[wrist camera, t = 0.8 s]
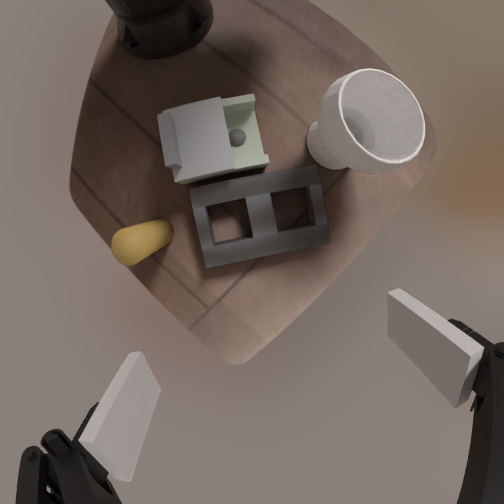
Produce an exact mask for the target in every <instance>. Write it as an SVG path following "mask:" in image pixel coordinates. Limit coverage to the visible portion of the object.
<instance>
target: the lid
mask: <svg viewBox="0 0 504 504" xmlns="http://www.w3.org/2000/svg"><path fill="white" fill-rule="evenodd" d="M157 118H158V125H159V131H160V138H161V144H162V150H163V156H164V161H165V166H166V167H168V168H170V169H172V171H173V176H174V181H175V182H180V181H184V180H188V179H192V178H196V177H200V176H205V175H209V174H213V173H218V172H222V171H227V170H232V169H235V164H234V160H233V155H232V150H231V145H230V140H229V135H228V130H227V125H226V121H225V116H224V111H223V106H222V101H221V96H220V97H216V98H211V99H206V100H202V101H198V102H194V103H190V104H186V105H182V106H178V107H174V108H171V109H167V110H164V111H163V113H161V114H158V115H157Z"/></svg>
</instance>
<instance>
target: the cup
mask: <svg viewBox="0 0 504 504" xmlns="http://www.w3.org/2000/svg"><path fill="white" fill-rule="evenodd" d="M424 137H425V122H424V117H423V112H422V110H421V108H420V105H419V103H418V101H417V99H416V98H415V96H414V95H413V93H412V92H411V91H410V90H409V89H408V87H407V86H406V85H405V84H404V83H403V82H401V81H400V80H399V79H397V78H396V77H394V76H393V75H391V74H389V73H386V72H384V71H381V70H376V69H370V68H369V69H361V70H357V71H354V72H352V73H350V74H347V75H345V76H343V77H341V78H339V79H337V80H336V81H335V82H334V83H333V84H332V85H331V86H330V88H329V89H328V90H327V91H326V92H325V93H324V95H323V97H322V99H321V101H320V103H319V107H318V116H317V121H315V122H314V123H313V124H312V125H311V127H310V128H309V131H308V133H307V147H308V150H309V152H310V154H311V156H312V157H313V158H314V160H315V161H316V162H318V163H319V164H320V165H322V166H324V167H325V168H328V169H333V170H339V169H343V168H346V167H349V168H351V169H353V170H355V171H359V172H362V173H366V174H376V173H385V172H389V171H392V170H395V169H398V168H399V167H401V166H402V165H404V164H405V163H407V162H408V161H410V160H411V159H412V158H413V157H415V156H416V155H417V154H418V152H419V150H420V149H421V147H422V145H423V141H424Z"/></svg>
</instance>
